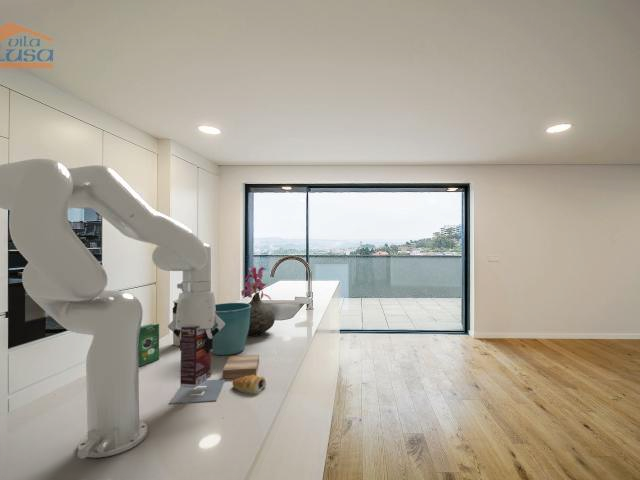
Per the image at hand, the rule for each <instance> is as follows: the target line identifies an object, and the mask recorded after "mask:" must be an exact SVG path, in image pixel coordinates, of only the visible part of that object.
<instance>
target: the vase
mask: <svg viewBox="0 0 640 480" xmlns="http://www.w3.org/2000/svg"><path fill="white" fill-rule="evenodd" d="M263 270H264V271H265V270H266V268H265V266H261V267H260V268H259V269H258V271H257V268H256V267H255V266H253V267H252V268H250V267H248V271H250V272H251V273H248V274H247V275H246V277H245V280H244V282H245V283H244V286H245V287H246V288H247V289H243V290H241V291H240V292H241V296H242V297H243V296H244V295H246V294H247V297H248V298H251V300H250V302H248V303H247V304H250V305H251V308H250V324H249V330H248V334H247V335H248V336H251V335H258V336H262V335H264V334H265V333H266V332H267V331H269V330H270V329H272V327H273V326H274V324H275V320H276V314H275V311H274V309H273V308H272V307H271V306H270V305H269V304H267V303H265V302H263V301H262V299H263V297H264V296H265V297H267V298H268V299H269V300H270V301H272V302H273V300H272V298H271V297H270V295H267V294H264V292H263V290H264V287H265V286H267V285H268V284H267V283H263V282H262V279H263V273H264V272H263ZM249 278H250V279H251V278H252V279H253V280H254V282H252V283H251V282H250V281H249V280H248V279H249ZM257 290H258V292H257ZM260 293H261V294H260ZM252 294H253V296H252ZM263 333H264V334H263ZM261 334H262V335H261Z"/></svg>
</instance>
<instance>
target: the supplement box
mask: <svg viewBox="0 0 640 480" xmlns="http://www.w3.org/2000/svg"><path fill="white" fill-rule="evenodd" d="M206 339H207V333H206V330H205V329H204V330H201V329H200V327H181V350H180V378H179V379H180V381H179V382H180V385H179V386H180V387H191V388H196V387H197V386H198V385H200V384H201V383H202V382H204V381H205V380H209V379H210V378H211V377H212V350H211V351H210V353H206Z"/></svg>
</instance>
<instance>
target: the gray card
mask: <svg viewBox="0 0 640 480" xmlns="http://www.w3.org/2000/svg"><path fill="white" fill-rule="evenodd" d="M225 382H226V378H222V379H221V378H220V379H207V380H205V381H204V382H202V383H201V384H200V385H198V386H197V387H196V388H191V387H181V386H180V387H179V388H178V390H177V391H176V392H175V394H174V395H173V396H172V398H171V399H170V401H169V402H168V404H169V405H174V404H191V403H192V404H193V403H207V402H208V403H209V402H217V401H218V398H219V397H220V396H219V395H220V393H221V391H222V389H223V387H224V384H225Z"/></svg>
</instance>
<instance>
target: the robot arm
mask: <svg viewBox="0 0 640 480" xmlns="http://www.w3.org/2000/svg"><path fill="white" fill-rule="evenodd" d="M81 208H82V209H83V208H90V209H92V210H94V212H96V213H97V214H98V215H100V217H102V218H103V219H104V220H106V221H107V222H108V223H109V224H111V225H112V226H113V228H115V229H116V230H118V231H119V232H120V233H121V234H122V235H123V236H125V237H128V238H129V239H133V240H136V241H139V242H142V243H146V244H152V245H155V246H156V247H155V248H154V249H153V252H152V255H151V257H152V258H151V259H152V262H153V264H154V266H156V267H157V268H158V269H160V270H162V271H167V272H182V281H181V282H180V283H177V284H176V287H177V289H180V290H181V292H179V294H178V298H177V299H178V303H177V312H176V318H175V319H174V320H173V319H172V321H171V322H170V323H169V324H168V325H167V328H168V330H170V331H171V332H172V333H173V332H174V334H175V335H176V336H177V337H178V338H179V339H180V346H179V351H181V327H200V329H201V330H204V329H205V330H206V333H207V339H206V353H210V351H211V352H212V349H213V336H214V335H215V334H216V333H217V332H218V331H219V330H220V329H222V328H223V327H224V325H225V323H224V322H223V321H222V320H221V319H220V318H219V317H218V316H217V315H216V306H215V304H216V299H215V293H214V291H212V248H211V246H210V244H208V243H203V241H202V240H201V239H200V238H199V237H198V235H196V234H195V233H194V231H192V230H191V229H190V228H189V227H187V226H185V225H184V224H182V223H180V222H178V221H177V220H175V219H173V218H171V217H169V216H167V215H165V214H163V213H161V212H159V211H156V210H155V209H153V207H151V205H149V204H148V203H147V202H146V200H144V199H143V198H142V197H141V196H140V195H139V194H138V193H137V192H136V191H135V190H134V189H133V188H132V187H131V186H130V184H129V183H127V182H126V181H125V180H124V179H123V178H122V177H121V176H120V175H119V174H118V173H117V172H116V171H114V170H113V169H112V168H110V167H107V166H104V165H98V164H97V165H96V164H95V165H85V166H79V167H72V168H67V167H66V166H64V165H63V164H62V163H60V162H59V161H56V160H53V159H50V158H49V159H48V158H33V159H32V158H31V159H26V160H25V159H24V160H20V161H16V162H10V163H9V162H7V163H4V164H0V209H1V210H2V209H3V210H7V211H9V219H8V225H9V226H8V228H9V234H10V239H11V240H12V243H13V245H14V247H15V248H16V250H17V251H18V252H19V253H20V255H22V256H23V258H24V259H25V260H26V261H27V264H26V265H25V267H24V268H23V271H22V274H21V275H22V276H21V279H22V286H23V288H24V290H25V292H26V293H27V295H28V296H29V297H30V298H31V299H32V300H33V302H35V303H36V304H37V305H38V306H39V307H40V308H42V310H43V311H44V312H46V313H47V314H48V315H49V317H51V318H52V319H54V321H56V323H58V325H60V326H61V327H62V328H65V330H67V331H69V332H72V333H75V334H81V335H88V336H92V339H91V344H90V346H89V349H88V351H87V355H86V359H85V373H86V374H85V375H86V427H87V428H86V430H87V432H86V434H85V435H84V436H83V437H82V438H81V439H80V441H79V442H78V446H77V448H78V451H77V457H78V458H79V459H82V460H83V459H86V458H91V459H93V458H95V459H97V458H106V457H111V456H115V455H118V454H121V453H123V452H124V453H125V452H127V451H128V450H130V449H133V448H134V447H136V446H137V445H139V444H140V443H142V441H143V440H144V439H145V438H146V437H147V435H148V425H147V423H145V422H143V421H141V420H140V389H139V388H140V382H139V381H140V379H139V378H140V377H139V376H140V375H139V366H138V341H139V333H140V327H141V326H142V321H143V317H144V316H143V314H144V313H143V312H144V311H143V306H142V304H141V301H140V300H139V298H137V296H135V295H133V294H131V293H129V292H126V291H122V290H121V291H120V290H108V289H106V288H107V285H108V274H107V272H106V269H105V268H104V266H103V265H102V264H101V262H100V261H99V260H98V259H97V258H96V257H95V256H94V254H93V253H92V252H91V251H90V250H89V249H88V247H86V245H85V244H84V243H83V241H81V239H80V238H79V236H78V235H77V234H76V232H75V231H74V230H73V228H72V226H71V225H70V222H69V213H68V211H69V210H70V209H81ZM216 323H217V324H218V326H217V327H216V328H215V329H214V330H213V329H212V327H213V326H214V325H215V324H216Z"/></svg>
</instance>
